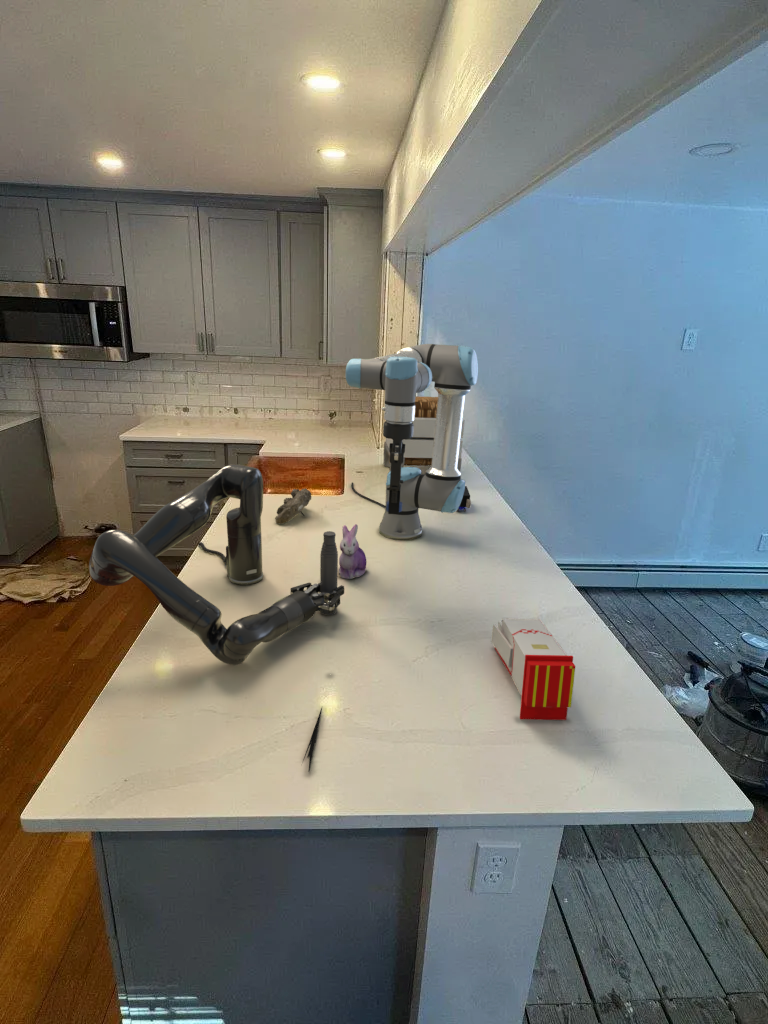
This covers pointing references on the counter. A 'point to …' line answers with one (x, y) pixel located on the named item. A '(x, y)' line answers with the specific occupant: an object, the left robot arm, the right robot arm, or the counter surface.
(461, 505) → the figurine character
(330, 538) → the bottle
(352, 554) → the figurine
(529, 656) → the toy
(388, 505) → the cap
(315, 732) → the feather
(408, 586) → the counter surface
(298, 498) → the fossil
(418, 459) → the white wooden crate
